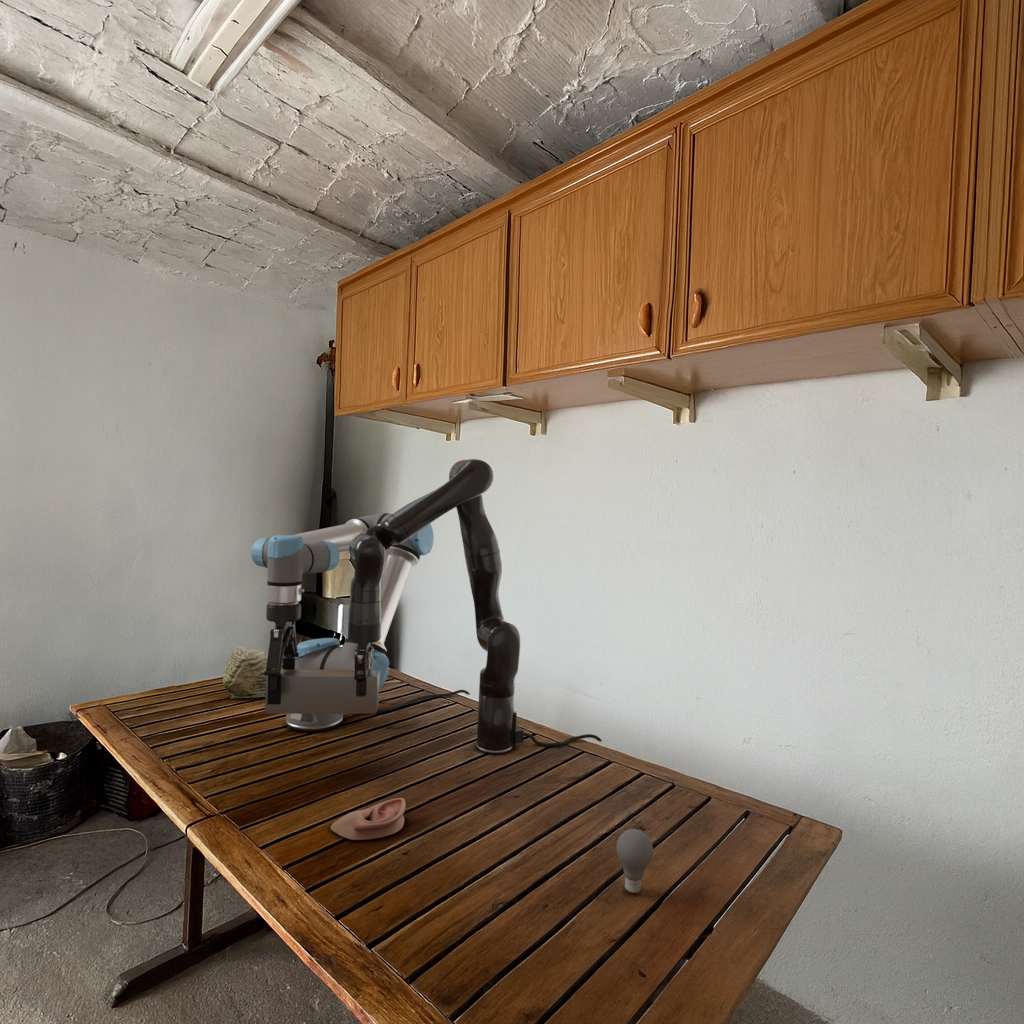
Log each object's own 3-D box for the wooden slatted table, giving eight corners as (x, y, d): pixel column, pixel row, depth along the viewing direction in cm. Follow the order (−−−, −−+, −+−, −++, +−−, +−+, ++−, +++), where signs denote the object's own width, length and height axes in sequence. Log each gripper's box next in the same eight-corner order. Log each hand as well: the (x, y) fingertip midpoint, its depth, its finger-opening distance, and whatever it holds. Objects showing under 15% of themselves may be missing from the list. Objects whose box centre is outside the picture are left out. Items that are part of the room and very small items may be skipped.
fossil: (218, 695, 195) (220, 647, 195) (278, 685, 208) (279, 640, 207) (228, 703, 189) (230, 653, 188) (289, 692, 201) (290, 645, 201)
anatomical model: (323, 814, 118) (350, 787, 130) (322, 835, 118) (350, 806, 130) (389, 824, 116) (412, 796, 127) (389, 846, 116) (411, 816, 127)
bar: (264, 713, 143) (265, 675, 143) (271, 705, 148) (272, 669, 148) (376, 713, 146) (377, 676, 146) (378, 705, 151) (379, 670, 151)
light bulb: (610, 879, 108) (613, 822, 108) (644, 879, 109) (647, 822, 109) (619, 902, 102) (622, 840, 102) (655, 901, 103) (658, 840, 103)
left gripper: (288, 613, 134) (285, 712, 134) (311, 594, 158) (309, 678, 159) (251, 612, 133) (248, 713, 133) (280, 593, 158) (278, 678, 158)
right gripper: (378, 626, 141) (375, 702, 141) (383, 614, 155) (381, 683, 156) (343, 626, 140) (341, 702, 140) (352, 614, 154) (350, 683, 155)
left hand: (281, 694), depth 146 cm, fingers open, 13 cm apart
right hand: (362, 691), depth 148 cm, fingers closed on bar, 5 cm apart
